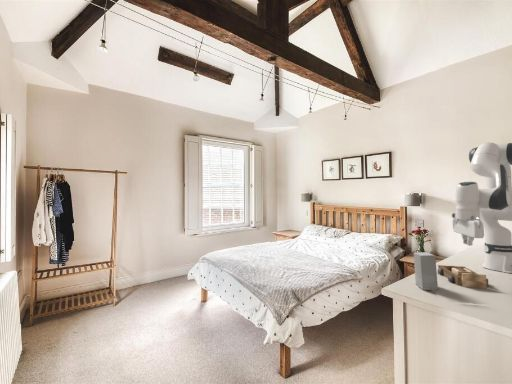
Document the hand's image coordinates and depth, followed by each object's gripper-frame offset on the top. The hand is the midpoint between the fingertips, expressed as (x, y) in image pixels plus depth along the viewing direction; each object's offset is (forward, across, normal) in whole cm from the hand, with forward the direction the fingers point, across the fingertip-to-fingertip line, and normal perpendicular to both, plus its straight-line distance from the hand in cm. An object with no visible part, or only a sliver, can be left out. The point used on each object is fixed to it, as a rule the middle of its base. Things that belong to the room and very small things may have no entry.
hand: (467, 244), depth 123 cm
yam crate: (+18, +6, 0) cm, 19 cm away
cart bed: (+19, +6, 0) cm, 20 cm away
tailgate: (+18, -5, 0) cm, 19 cm away
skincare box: (+19, -9, +21) cm, 30 cm away
